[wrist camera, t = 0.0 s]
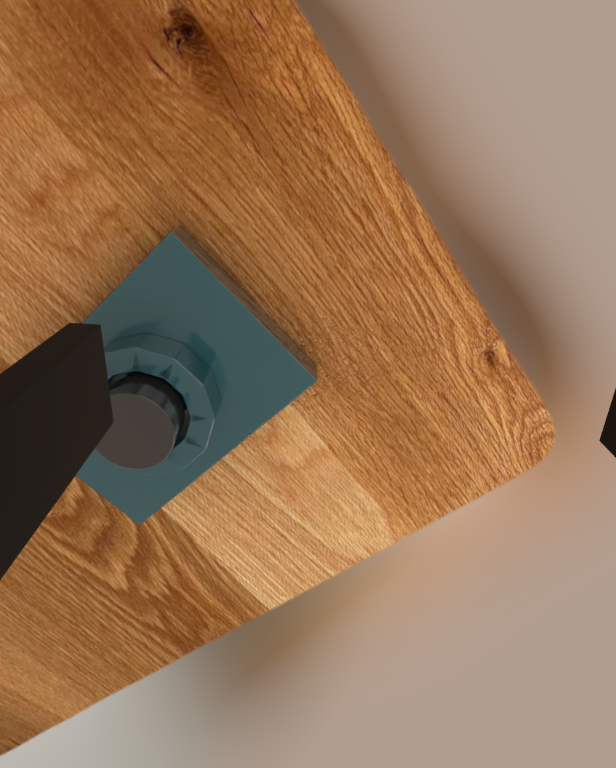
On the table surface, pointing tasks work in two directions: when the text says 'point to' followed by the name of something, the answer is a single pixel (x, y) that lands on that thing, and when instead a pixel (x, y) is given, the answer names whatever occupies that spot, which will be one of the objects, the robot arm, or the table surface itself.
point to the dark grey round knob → (142, 422)
